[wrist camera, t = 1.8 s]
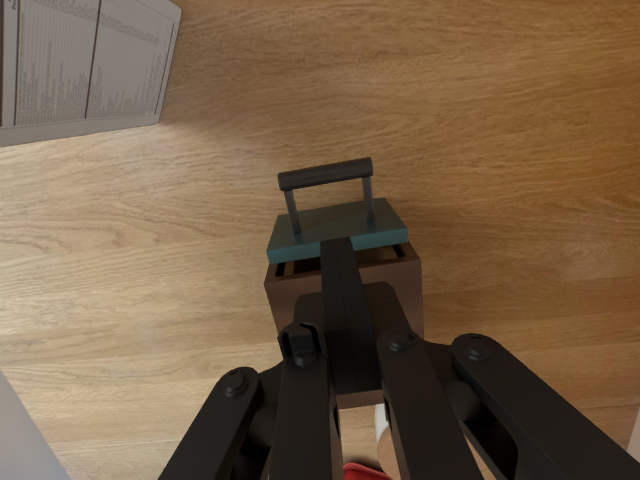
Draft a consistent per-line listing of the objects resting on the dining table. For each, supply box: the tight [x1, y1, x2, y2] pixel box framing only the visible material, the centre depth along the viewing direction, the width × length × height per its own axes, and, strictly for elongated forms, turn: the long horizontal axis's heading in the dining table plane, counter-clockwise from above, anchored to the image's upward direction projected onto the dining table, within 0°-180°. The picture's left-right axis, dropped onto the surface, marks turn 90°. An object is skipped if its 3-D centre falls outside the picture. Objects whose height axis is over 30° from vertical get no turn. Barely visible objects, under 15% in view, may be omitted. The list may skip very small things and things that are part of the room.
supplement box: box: [0, 0, 182, 147], centre depth 16 cm, size 10×9×17 cm
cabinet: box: [264, 241, 424, 409], centre depth 29 cm, size 15×12×10 cm
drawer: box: [266, 157, 408, 275], centre depth 27 cm, size 18×10×8 cm, turn 10°
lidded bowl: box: [375, 404, 487, 480], centre depth 35 cm, size 13×13×11 cm
